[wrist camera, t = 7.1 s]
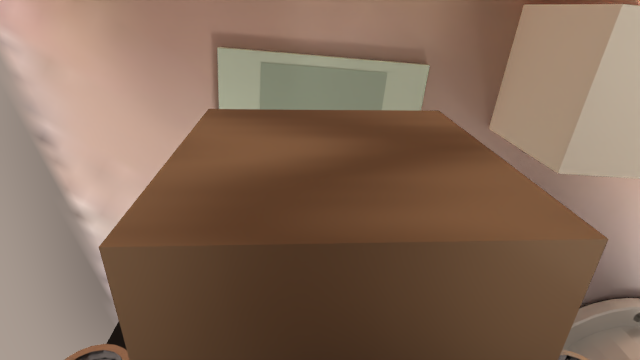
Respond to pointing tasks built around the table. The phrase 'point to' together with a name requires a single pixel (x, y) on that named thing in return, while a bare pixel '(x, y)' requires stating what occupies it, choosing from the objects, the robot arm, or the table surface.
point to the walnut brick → (345, 245)
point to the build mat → (316, 82)
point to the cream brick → (574, 89)
